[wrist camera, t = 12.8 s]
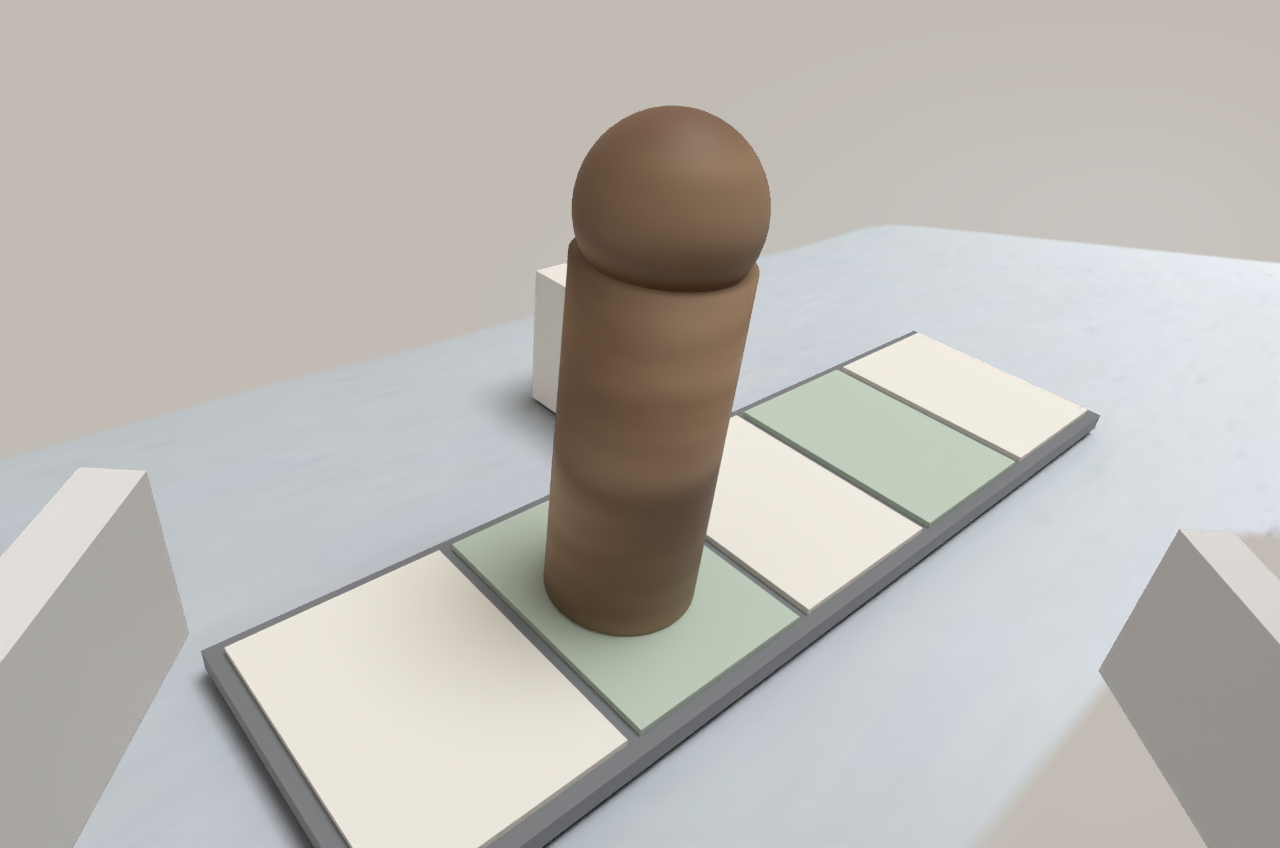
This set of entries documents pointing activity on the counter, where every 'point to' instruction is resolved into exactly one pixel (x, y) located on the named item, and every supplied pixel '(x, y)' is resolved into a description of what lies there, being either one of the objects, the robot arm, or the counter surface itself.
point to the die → (548, 333)
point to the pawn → (649, 362)
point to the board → (613, 664)
